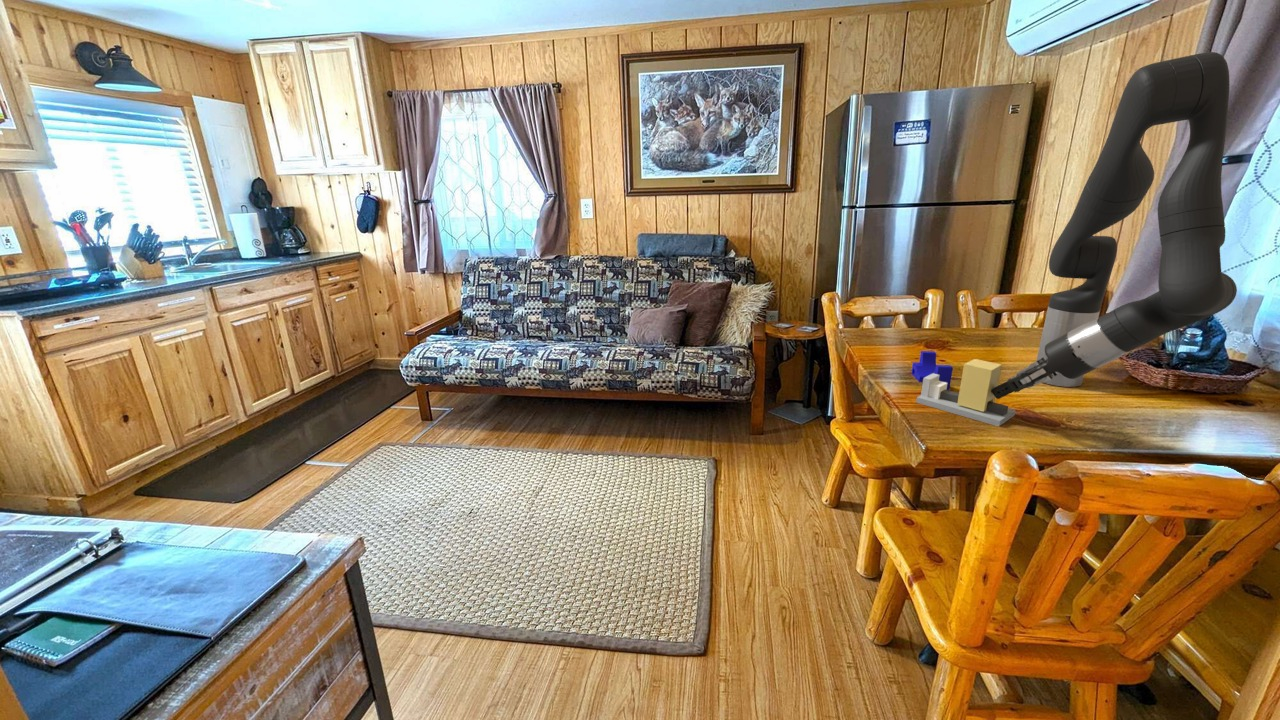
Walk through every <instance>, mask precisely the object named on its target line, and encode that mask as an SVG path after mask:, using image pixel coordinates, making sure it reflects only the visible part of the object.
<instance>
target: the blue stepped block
mask: <svg viewBox="0 0 1280 720" xmlns="http://www.w3.org/2000/svg"><path fill="white" fill-rule="evenodd" d="M953 369H954V367H953V366H952V365H950V364H949V365H948V364H937V352H936V351H933V350H932V351H929V350H928V351H927V350H922V351H921V350H920V356H919V362H912V368H911V375H912V376H913V377H914V378H915V379H916V380H917V381H918V382H919V383H923V378H924V377H926V376H928V375H931V374H933V373H934V374H938V375H940V376H939V381H942V382H946V383H948V384H947V390H949V391H950V388H951V387H950V386H951V381H952V374H953Z"/></svg>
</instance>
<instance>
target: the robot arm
mask: <svg viewBox="0 0 1280 720" xmlns="http://www.w3.org/2000/svg"><path fill="white" fill-rule="evenodd" d="M1229 69H1230V68H1229V65H1228V62H1227V60H1226V58H1225V57H1224V56H1223V55H1222V54H1220V53H1219V52H1215V51H1207V52H1200V53H1196V54H1195V53H1194V54H1192V55H1191V54H1190V55H1186V56H1181V57H1178V58H1177V57H1176V58H1172V59H1166V60H1163V61H1157V62H1153V63H1150V64H1147V65H1144V66H1142V67H1139V69H1137V70H1136V71H1134V73H1133V74H1132V75H1131V76H1130V78H1129V80H1128V81H1127V83H1126V86H1125V87H1124V90H1123V91H1122V95H1121V97H1120V100H1119V103H1118V105H1117V109H1116V111H1115V114H1114V117H1113V120H1112V122H1111V123H1112V124H1111V127H1110V129H1109V132H1108V135H1107V138H1106V141H1105V143H1104V146H1103V147H1102V150H1101V152H1100V154H1099V156H1098V159H1097V161H1096V162H1095V165H1094V167H1093V169H1092V171H1091V172H1090V174H1089V176H1088V178H1087V180H1086V183H1085V184H1084V187H1083V188H1082V191H1081V194H1080V197H1079V199H1078V202H1077V203H1076V206H1075V209H1074V211H1073V212H1072V215H1071V217H1070V219H1069V220H1068V222H1067V224H1066V225H1065V227H1064V229H1063V230H1062V232H1061V233H1060V235H1059V237H1058V239H1057V241H1056V242H1055V243H1054V246H1053V248H1052V250H1051V253H1050V256H1049V261H1048V269H1049V271H1050V273H1051V274H1052V275H1054V276H1055V277H1058V278H1063V279H1082V280H1085V281H1084V282H1083V283H1082V284H1081V285H1078V286H1077V287H1073V288H1070V289H1067V290H1066V289H1065V290H1063V291H1057V292H1055V293H1052V294H1051V296H1049V297H1050V298H1049V302H1048V306H1047V311H1046V315H1045V321H1044V325H1043V329H1042V333H1041V338H1040V341H1039V342H1040V343H1039V346H1038V347H1039V348H1038V352H1037V357H1036V361H1034V362H1032V363H1031V364H1029V365H1028V366H1027V367H1025V368H1023V369H1021V370H1019V371H1018V372H1016V373H1015V374H1016V375H1013V376H1012V377H1010V378H1008V379H1007V380H1006V381H1005V382H1002V383H1000V384H998V386H997V387H995V388H993V389H992V390H991V392H992V393H993V395H994V396H995V399H997V400H1000V399H1001V398H1004V397H1006V396H1008V395H1010V394H1013V393H1019V392H1021V391H1022V390H1025V389H1031V388H1033V387H1035V386H1036V385H1039V384H1041V383H1044V384H1047V385H1050V386H1051V385H1052V386H1056V387H1057V386H1058V387H1065V388H1066V387H1068V388H1071V387H1075V388H1076V387H1079V386H1081V385H1082V384H1083V380H1084V375H1087V374H1089V373H1090V372H1093V371H1094V370H1097V369H1098V368H1101V367H1104V366H1106V365H1107V364H1109V363H1112V362H1114V361H1116V360H1117V359H1119V358H1120V357H1122V356H1124V355H1125V354H1127V353H1129V352H1131V351H1134V350H1135V349H1138V348H1139V347H1143V346H1145V345H1146V344H1148V343H1151V342H1153V341H1155V340H1156V339H1157V338H1160V337H1161V336H1163V335H1165V334H1167V333H1171V332H1174V331H1176V330H1179V329H1181V328H1185V327H1187V326H1190V325H1192V324H1195V323H1196V322H1199V321H1202V320H1204V319H1207V318H1209V317H1212V316H1213V315H1216V314H1217V313H1220V312H1221V311H1223V310H1226V309H1227V308H1228V307H1229V306H1230V305H1231V304H1232V303H1233V302H1234V300H1235V299H1236V296H1237V293H1238V292H1237V291H1238V287H1237V284H1236V282H1235V281H1234V280H1233V278H1232V277H1231V276H1229V275H1228V274H1226V273H1224V272H1222V263H1221V261H1222V258H1221V247H1222V246H1223V245H1224V244H1225V241H1226V224H1225V222H1226V221H1225V215H1224V214H1225V213H1224V204H1223V196H1222V195H1223V194H1222V173H1223V161H1224V160H1223V159H1224V158H1223V157H1224V151H1225V142H1226V134H1227V127H1228V126H1227V125H1228V112H1229V110H1228V109H1229V101H1230V100H1229V98H1230V84H1231V83H1230V70H1229ZM1180 121H1188V124H1189V138H1188V139H1189V140H1188V144H1187V147H1186V149H1185V151H1184V154H1183V156H1182V158H1181V159H1180V161H1179V163H1178V165H1177V166H1176V168H1175V169H1174V171H1173V172H1172V174H1171V176H1170V177H1169V179H1168V180H1167V182H1166V184H1165V186H1164V187H1163V189H1162V191H1161V194H1160V196H1159V200H1158V203H1157V220H1158V231H1159V240H1160V245H1161V253H1160V259H1159V269H1158V283H1157V284H1158V291H1156V292H1155V293H1153V294H1151V295H1148V296H1147V297H1145V298H1142V299H1139V300H1134V301H1131V302H1128V303H1124V304H1123V305H1121V306H1118V307H1117V308H1115V309H1113V310H1111V311H1109V312H1107V313H1105V314H1103V315H1101V316H1100V317H1099V315H1100V312H1101V307H1102V304H1103V301H1104V298H1105V295H1106V291H1107V286H1108V285H1109V284H1108V283H1109V280H1110V277H1111V274H1112V271H1113V268H1114V266H1115V262H1116V259H1117V254H1118V243H1117V240H1116V238H1114V237H1113V236H1109V235H1096V234H1097V233H1100V232H1102V231H1104V230H1106V229H1107V228H1108V229H1109V228H1110V227H1111V226H1113V225H1116V224H1117V223H1120V222H1121V221H1123V220H1124V219H1126V218H1127V217H1129V216H1130V215H1131V214H1132V213H1134V212H1135V211H1136V210H1137V209H1138V207H1139V206H1140V205H1141V203H1142V201H1143V199H1144V198H1145V196H1146V195H1147V193H1148V191H1149V190H1150V189H1151V187H1152V184H1153V183H1154V179H1155V170H1154V166H1153V163H1152V162H1151V160H1150V158H1149V156H1148V155H1147V153H1146V151H1145V150H1144V149H1143V147H1142V144H1141V141H1142V138H1143V136H1144V134H1145V133H1146V132H1147V131H1148V130H1149V129H1150V128H1151V127H1154V126H1159V125H1164V124H1171V123H1176V122H1180Z"/></svg>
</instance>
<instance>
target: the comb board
mask: <svg viewBox="0 0 1280 720" xmlns="http://www.w3.org/2000/svg"><path fill="white" fill-rule="evenodd" d="M939 376H940V375H938V374H934V373H933V374H931V375H928V376H926V377H924V378H923V382H922V386H921V392H920V395H918V396H917V397H916V401H915V403H917V404H920V405H923V406H928V407H931V408H934V409H937V410H941V411H944V412H947V413H950V414H955V415H958V416H962V417H964V418H968V419H972V420H975V421H978V422H982V423H986V424H988V425H992V426H996V427H1000V426H1002V425H1004V423H1006V422H1007V421H1009V420H1010V419H1012V418H1013V417H1014V416H1015V415H1016V409H1014V408H1010V407H1009V406H1008V405H1006V404H1002V403H998V402H991V401H989V402H988V403H987V408H986V411H984V412H982V411H979V410H975V409H971V408H968V407H964V406H961V405H957V402H958V397H959V392H956V391H952V390H950V389H949V390H947V384H948V383H946V382H942V381H939Z"/></svg>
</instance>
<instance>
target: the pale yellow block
mask: <svg viewBox="0 0 1280 720" xmlns="http://www.w3.org/2000/svg"><path fill="white" fill-rule="evenodd" d="M1002 365H1003V364H1001V363H996V362H991V361H987V360H981V359H977V358H974V359H972V360H969V361H967V362H966V363H964V364H963V370H962V374H961V375H962V376H961V380H960V387H959V391H958V393H959V397H958V402H957V405H961V406H964V407H968V408H971V409H975V410H979V411H982V412H984V411H986V408H987V403H988V402H989V401H991V402H995V401H996V397H995V396H994V395H993V393H992V392H991V390H992V389H993V388H995V387H997V386H999V381H1000V376H1001V372H1002ZM995 403H996V402H995Z"/></svg>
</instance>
